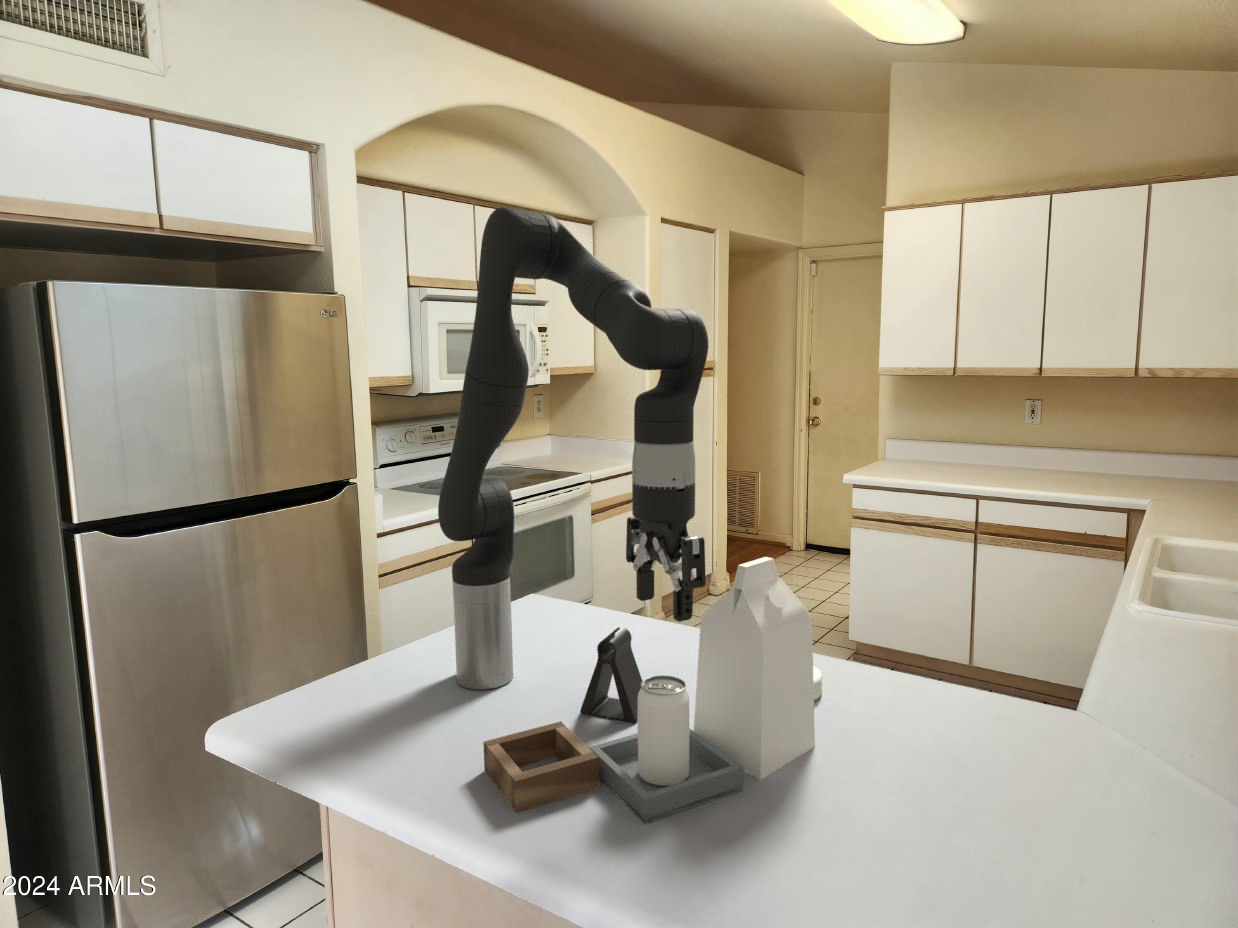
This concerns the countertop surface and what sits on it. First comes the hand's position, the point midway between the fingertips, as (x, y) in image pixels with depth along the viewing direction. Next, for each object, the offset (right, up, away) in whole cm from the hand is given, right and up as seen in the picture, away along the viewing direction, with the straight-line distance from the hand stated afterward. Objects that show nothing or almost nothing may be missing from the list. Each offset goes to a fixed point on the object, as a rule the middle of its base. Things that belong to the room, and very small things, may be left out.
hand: (663, 609), depth 98 cm
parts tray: (0, -22, +3) cm, 22 cm away
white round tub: (+21, -18, +29) cm, 40 cm away
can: (0, -22, +3) cm, 22 cm away
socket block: (-15, -22, +4) cm, 27 cm away
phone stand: (-6, -20, +23) cm, 30 cm away
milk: (+13, -21, +11) cm, 27 cm away
